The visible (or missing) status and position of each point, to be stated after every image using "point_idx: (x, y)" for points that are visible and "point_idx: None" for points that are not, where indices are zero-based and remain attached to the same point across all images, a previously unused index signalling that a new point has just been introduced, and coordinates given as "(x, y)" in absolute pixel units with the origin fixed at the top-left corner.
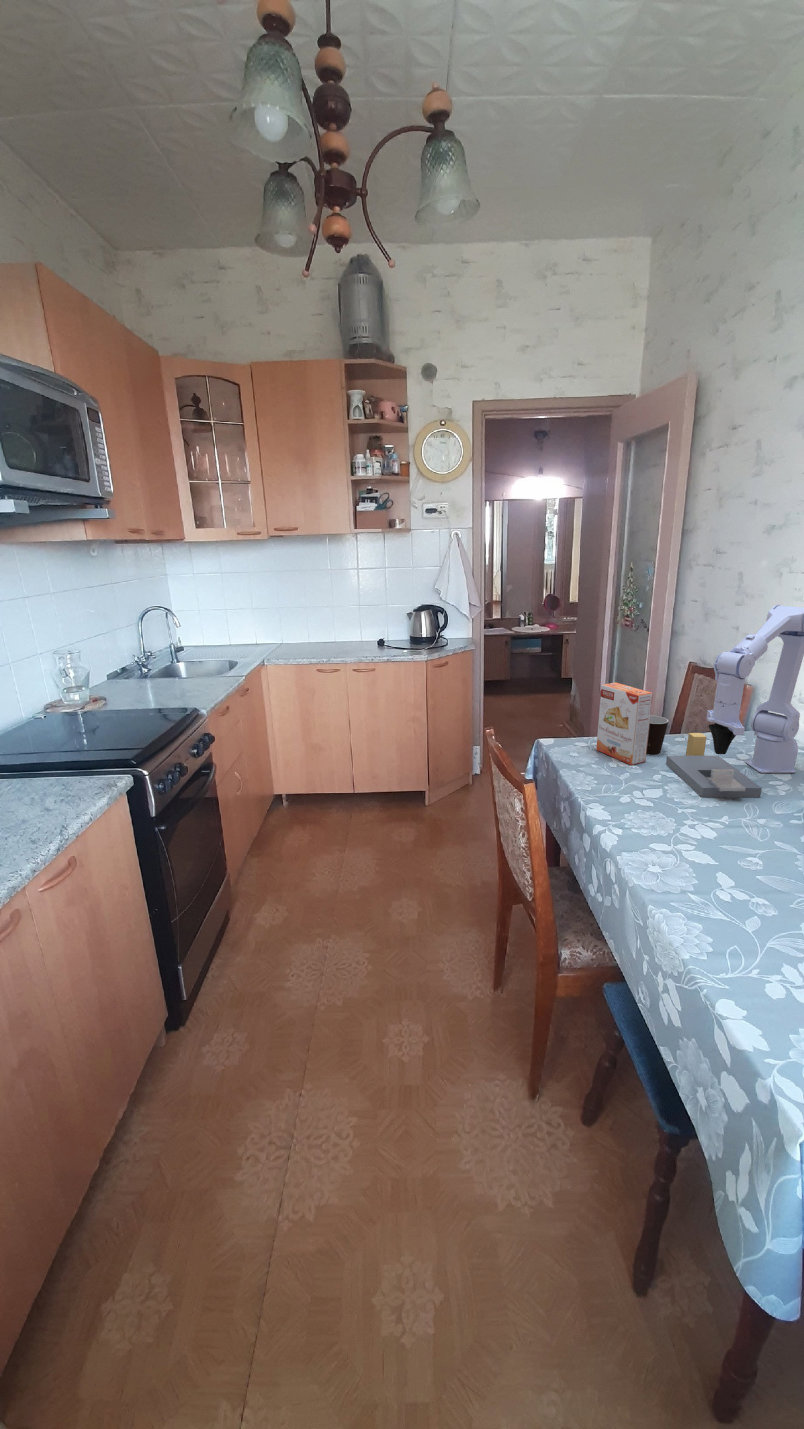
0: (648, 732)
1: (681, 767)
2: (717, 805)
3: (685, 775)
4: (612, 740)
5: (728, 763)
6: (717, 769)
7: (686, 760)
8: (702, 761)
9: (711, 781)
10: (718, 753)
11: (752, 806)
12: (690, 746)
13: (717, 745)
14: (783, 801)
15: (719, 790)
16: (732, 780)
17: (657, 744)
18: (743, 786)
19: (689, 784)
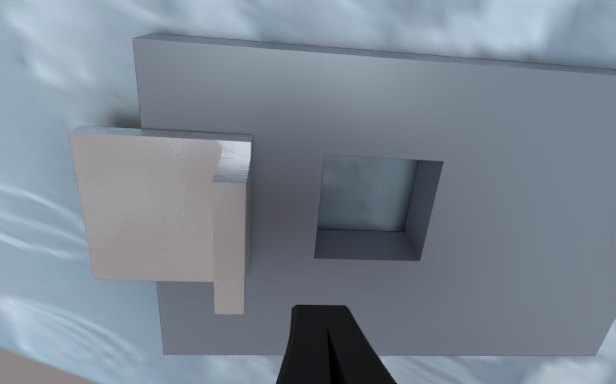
0: None
1: (512, 77)
2: (39, 71)
3: (412, 57)
4: None
5: (487, 354)
6: (238, 222)
7: (606, 172)
8: (556, 253)
9: (201, 137)
10: (291, 319)
11: (62, 242)
12: None
13: (280, 379)
14: (140, 373)
15: (79, 126)
16: (211, 264)
17: None
18: (118, 279)
19: (332, 47)
